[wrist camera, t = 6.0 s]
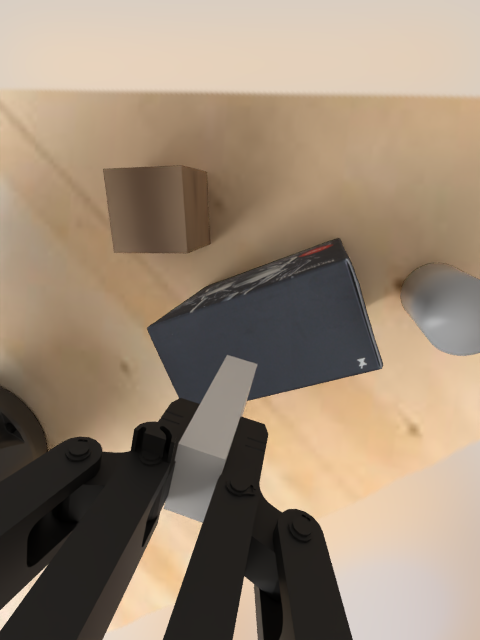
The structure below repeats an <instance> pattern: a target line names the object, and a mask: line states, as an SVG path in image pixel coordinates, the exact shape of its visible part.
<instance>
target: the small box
mask: <svg viewBox="0 0 480 640" xmlns="http://www.w3.org/2000/svg"><path fill="white" fill-rule="evenodd" d="M147 329H148V333H149V335H150V337H151V339H152V341H153V344H154V346H155V348H156V350H157V352H158V354H159V357H160V359H161V361H162V363H163V365H164V367H165V369H166V371H167V373H168V376H169V378H170V380H171V382H172V385H173V386H174V388H175V390H176V392H177V394H178V397H179V398H183V399H186V400H189V401H192V402H195V403H198V404H200V403H201V402H202V400H203V398H204V396H205V394H206V392H207V391H208V389H209V387H210V385H211V383H212V382H213V380H214V378H215V376H216V374H217V372H218V371H219V369H220V367H221V365H222V363H223V362H224V360H225V358H226V356H227V355H229V356H233V357H236V358H239V359H242V360H245V361H249V362H252V363H255V364H257V368H256V371H255V374H254V378H253V381H252V385H251V388H250V391H249V395H248V398H247V401H249V400H253V399H257V398H261V397H266V396H270V395H274V394H279V393H282V392H287V391H290V390H295V389H299V388H303V387H307V386H312V385H316V384H320V383H324V382H329V381H333V380H337V379H341V378H345V377H349V376H354V375H358V374H362V373H366V372H370V371H375V370H378V369H382V367H383V362H382V359H381V356H380V353H379V350H378V347H377V344H376V341H375V338H374V334H373V331H372V327H371V324H370V320H369V317H368V314H367V310H366V307H365V303H364V300H363V297H362V293H361V289H360V284H359V282H358V279H357V277H356V274H355V270H354V268H353V266H352V263H351V261H350V259H349V257H348V255H347V253H346V251H345V249H344V247H343V245H342V242H341V240H340V239H339V238H337V239H334V240H331V241H328V242H326V243H323V244H320V245H317V246H315V247H312V248H309V249H307V250H304V251H301V252H298V253H296V254H293V255H290V256H288V257H285V258H282V259H280V260H277V261H274V262H271V263H269V264H266V265H263V266H261V267H258V268H255V269H252V270H250V271H247V272H244V273H242V274H239V275H236V276H234V277H231V278H228V279H225V280H223V281H220V282H217V283H214V284H212V285H209V286H206V287H205V288H203V289H202V290H200V291H199V292H197V293H196V294H195V295H193V296H192V297H190V298H189V299H187V300H186V301H184V302H183V303H182V304H180V305H179V306H177V307H176V308H174V309H173V310H171V311H170V312H169V313H167V314H166V315H165V316H163V317H162V318H160V319H159V320H157V321H156V322H155V323H153V324H152V325H150V326H149V327H147Z"/></svg>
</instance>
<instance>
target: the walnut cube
mask: <svg viewBox="0 0 480 640" xmlns="http://www.w3.org/2000/svg"><path fill="white" fill-rule="evenodd" d="M103 172H104V180H105V187H106V195H107V202H108V210H109V217H110V225H111V232H112V240H113V247H114V253H189V252H192V251H194V250H197V249H199V248H202V247H204V246H207V245H209V244H210V231H209V209H208V188H207V172H205V171H201V170H197V169H193V168H189V167H185V166H159V167H137V168H114V169H103Z"/></svg>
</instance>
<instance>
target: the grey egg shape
mask: <svg viewBox="0 0 480 640" xmlns="http://www.w3.org/2000/svg"><path fill="white" fill-rule="evenodd" d="M400 297H401V303H402V305H403V307H404V309H405V311H406V312H407V313H408V314H409V316H410V317H411V318H412V319H413V321H414V322H415V323H416V325H417V326H418V327H419V328H420V330H421V331H422V332H423V333H424V335H425V336H426V337H427V339H428V340H429V341H430V342H431V344H432V345H434V346H435V347H436V348H437V349H439V350H441V351H443V352H445V353H448V354H452V355H458V356H466V355H473V354H477V353H480V280H479V279H477V278H475V277H473V276H471V275H469V274H467V273H465V272H463V271H461V270H459V269H457V268H455V267H453V266H451V265H448V264H444V263H430V264H426V265H423V266H421V267H419V268H417V269H416V270H414V271H413V272H412V273H411V274H410V275H409V276H408V277H407V278H406V280H405V281H404V283H403V285H402V288H401V295H400Z"/></svg>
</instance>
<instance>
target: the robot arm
mask: <svg viewBox="0 0 480 640" xmlns="http://www.w3.org/2000/svg"><path fill="white" fill-rule="evenodd" d="M256 368H257V364H255V363H252V362H249V361H245V360H242V359H239V358H236V357H233V356H229V355H227V356H226V358H225V360H224V362H223V363H222V365H221V367H220V369H219V371H218V372H217V374H216V376H215V378H214V380H213V382H212V383H211V385H210V387H209V389H208V391H207V392H206V394H205V396H204V398H203V400H202V402H201V403H200V404H198V403H195V402H192V401H189V400H186V399H183V398H179V399H178V400H176V401H174V402H172V403H171V404H170V405H169V407H168V408H167V410H166V411H165V413H164V414H163V415H162V417H161V419H160V420H159V421H158V422H146V423H143V424H140V425H139V426H137V427H136V428H135V429H134V434H133V440H132V447H131V451H129V452H124V453H113V452H102V447H101V445H100V444H99V443H98V442H97V441H96V440H94V439H91V438H89V437H75V438H70V439H68V440H66V441H64V442H62V443H60V444H59V445H57V446H56V447H54V448H52V449H51V450H49V451H48V452H47V445H46V440H45V436H44V433H43V431H42V428H41V426H40V424H39V422H38V421H37V419H36V418H35V416H34V415H33V413H32V412H31V411H30V410H29V408H28V407H27V406H26V405H25V404H24V403H23V402H22V401H21V400H19V399H18V398H17V397H16V396H14V395H13V394H12V393H10V392H9V391H7V390H5V389H4V388H2V387H0V610H1V609H2V608H3V607H4V606H5V605H6V604H7V603H8V602H9V601H10V600H11V599H12V598H13V597H14V596H15V595H16V594H17V593H19V592H20V591H21V590H22V589H23V588H24V587H25V586H26V585H27V584H28V583H29V582H30V581H31V580H32V579H33V578H34V577H35V576H36V575H37V574H38V573H39V572H40V571H42V570H43V569H44V568H45V567H46V566H47V565H48V566H47V567H46V568H45V570H44V571H43V573H42V574H41V575H40V577H39V578H38V580H37V581H36V582H35V584H34V585H33V586H32V588H31V589H30V591H29V592H28V593H27V595H26V596H25V598H24V599H23V600H22V602H21V603H20V604H19V606H18V607H17V609H16V610H15V611H14V613H13V614H12V616H11V617H10V618H9V620H8V621H7V623H6V624H5V625H4V627H3V628H2V629H1V631H0V640H102V639H103V637H104V635H105V633H106V631H107V629H108V627H109V625H110V622H111V620H112V618H113V616H114V614H115V612H116V610H117V608H118V606H119V603H120V601H121V599H122V597H123V595H124V593H125V591H126V589H127V587H128V585H129V582H130V580H131V578H132V576H133V574H134V572H135V570H136V568H137V566H138V563H139V561H140V559H141V557H142V555H143V553H144V551H145V549H146V547H147V545H148V542H149V540H150V538H151V536H152V534H153V532H154V530H155V528H156V526H157V523H158V519H159V515H160V511H161V509H162V507H163V505H164V503H165V506H164V509H166V510H169V511H172V512H175V513H177V514H180V515H183V516H186V517H188V518H191V519H194V520H197V521H200V522H202V523H203V524H202V527H201V530H200V533H199V536H198V539H197V541H196V544H195V547H194V550H193V553H192V556H191V559H190V562H189V565H188V568H187V571H186V574H185V577H184V579H183V582H182V585H181V588H180V591H179V594H178V597H177V600H176V603H175V606H174V609H173V612H172V615H171V617H170V620H169V624H168V627H167V630H166V633H165V635H164V638H163V640H232V639H233V634H234V628H235V623H236V618H237V612H238V607H239V601H240V596H241V590H242V585H243V579H244V576H245V577H246V578H247V579H249V580H250V581H251V582H253V583H254V591H255V604H256V605H255V606H256V620H257V633H258V640H353V639H352V635H351V632H350V628H349V625H348V621H347V617H346V614H345V610H344V606H343V603H342V599H341V596H340V592H339V588H338V585H337V581H336V578H335V574H334V570H333V567H332V563H331V560H330V556H329V552H328V549H327V545H326V542H325V538H324V534H323V531H322V530H321V527H320V525H319V524H318V522H317V521H316V520H315V519H314V518H313V517H312V516H310V515H309V514H307V513H306V512H304V511H301V510H298V509H288V510H286V511H284V512H280V511H279V510H277V509H276V508H275V507H273V506H272V505H271V504H270V503H268V502H267V500H266V499H265V498H264V497H263V495H262V493H261V491H260V487H259V481H260V476H261V470H262V465H263V460H264V454H265V449H266V443H267V438H268V432H267V429H266V427H265V424H262V423H259V422H256V421H253V420H250V419H247V418H244V417H242V415H243V412H244V408H245V405H246V402H247V398H248V395H249V391H250V388H251V385H252V381H253V378H254V374H255V371H256ZM165 501H166V502H165Z"/></svg>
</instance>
